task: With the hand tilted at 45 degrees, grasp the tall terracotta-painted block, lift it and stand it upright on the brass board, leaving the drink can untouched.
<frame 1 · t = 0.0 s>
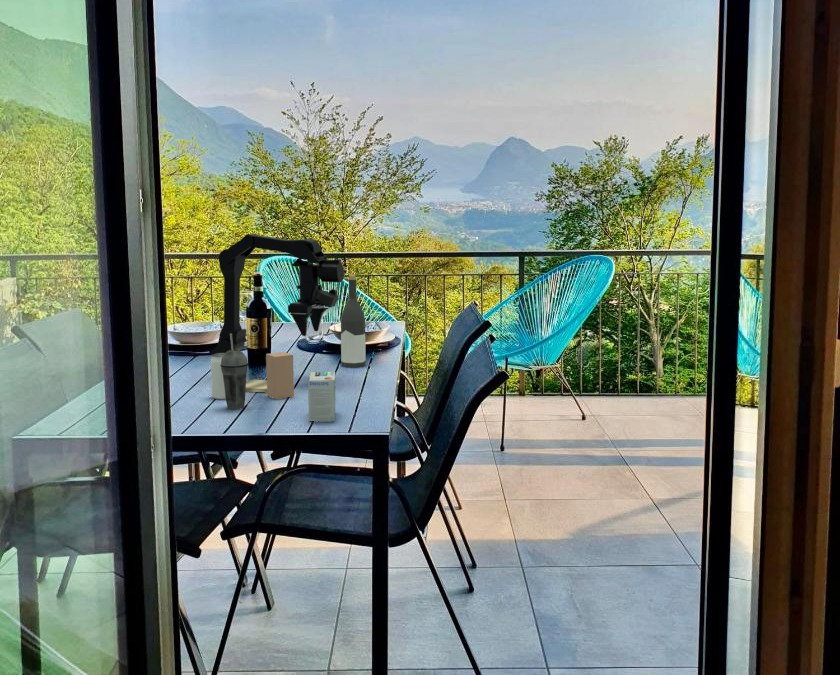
hand: (310, 333, 262), 15 cm above the table, tool pointing down, fingers open, 9 cm apart
can: (223, 397, 244), on the table
wine bottle: (353, 366, 289), on the table
tall block: (280, 396, 245), on the table
brass board: (260, 388, 255), on the table
light bulb box: (322, 417, 222), on the table
beverage cup: (235, 408, 232), on the table
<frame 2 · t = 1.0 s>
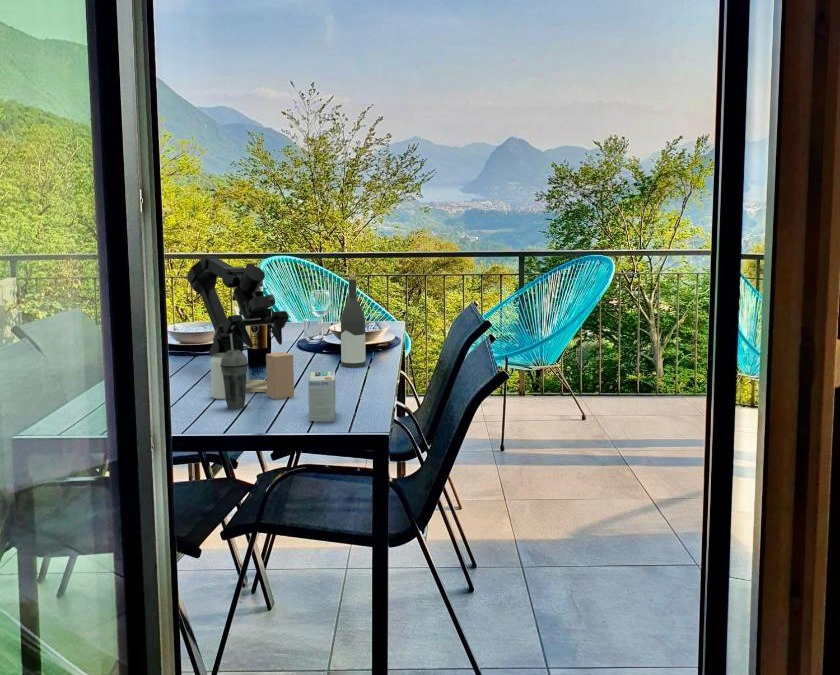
hand: (266, 345, 249), 13 cm above the table, tool tilted 45°, fingers open, 9 cm apart
nothing on the table moved.
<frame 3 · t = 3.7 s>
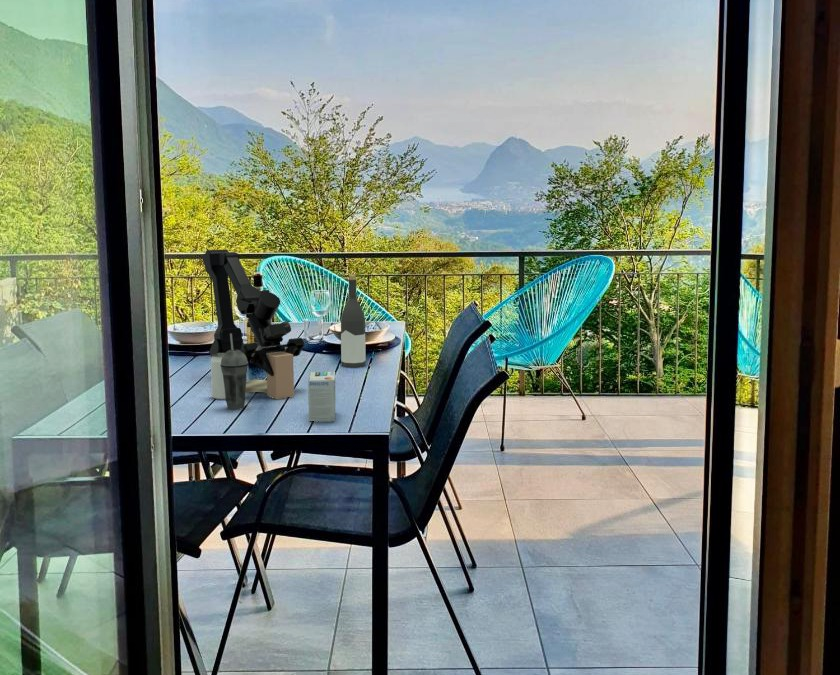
hand: (282, 374, 243), 7 cm above the table, tool tilted 45°, fingers closed on tall block, 5 cm apart
tall block: (280, 396, 245), on the table, touching gripper
everything else where it was.
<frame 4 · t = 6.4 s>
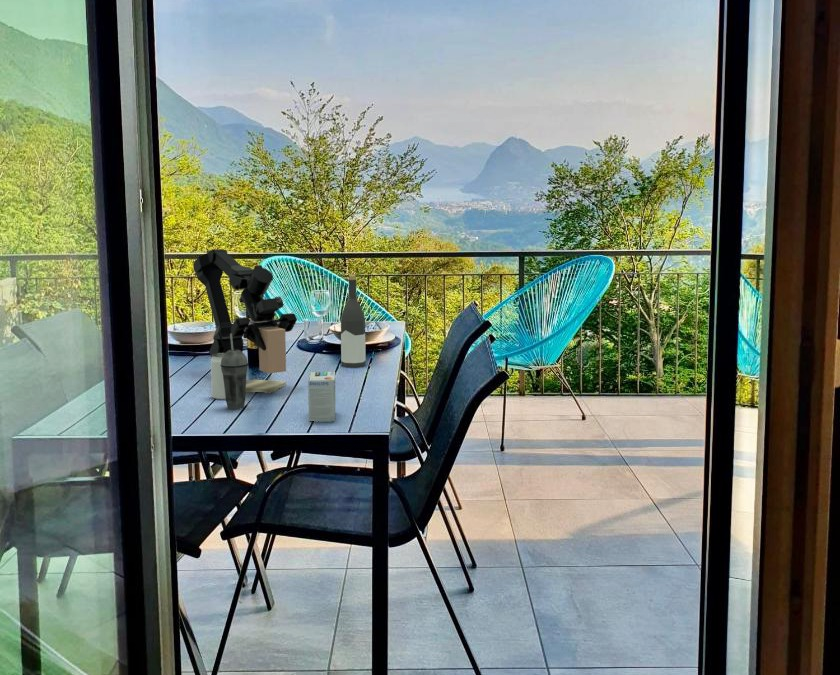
hand: (274, 348, 245), 13 cm above the table, tool tilted 45°, fingers closed on tall block, 5 cm apart
tall block: (272, 370, 248), point 7 cm above the table, touching gripper
everything else where it was.
when the fingers open (9 cm above the table, at t = 9.0 s): tall block drops 2 cm, resting on brass board.
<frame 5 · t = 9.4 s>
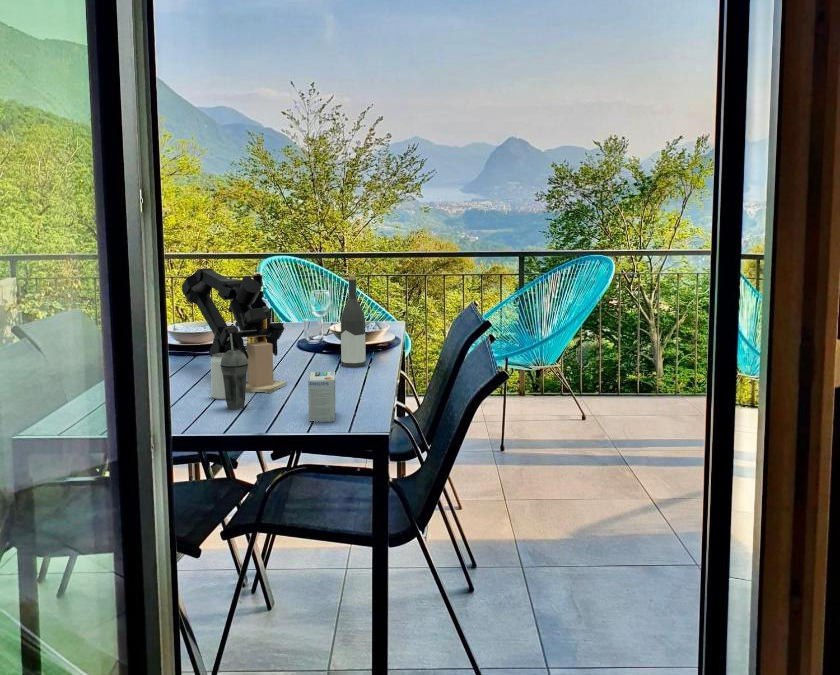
hand: (262, 356, 253), 10 cm above the table, tool tilted 45°, fingers open, 9 cm apart
tall block: (260, 384, 255), point 1 cm above the table, touching brass board
everything else where it was.
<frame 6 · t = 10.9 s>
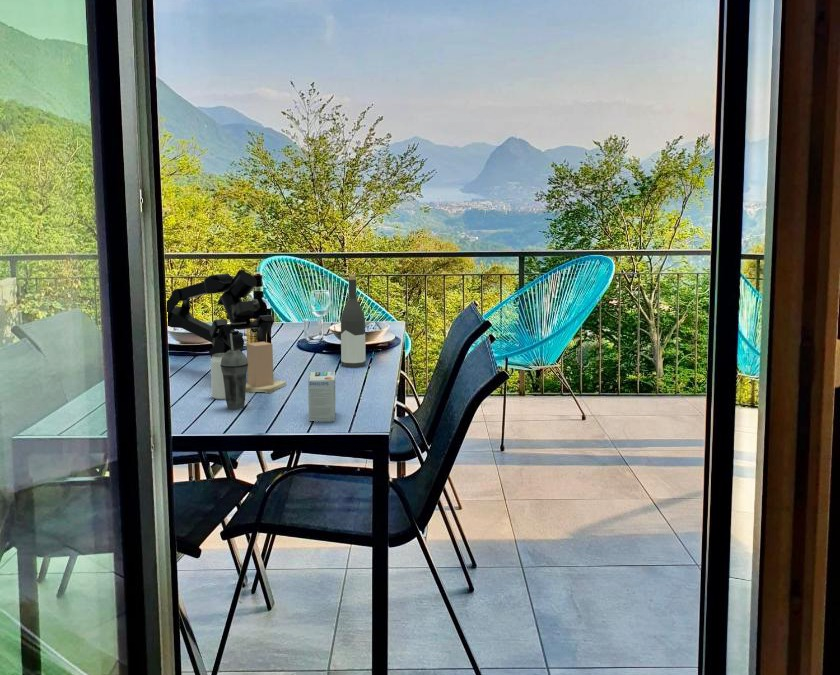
hand: (251, 348, 258), 11 cm above the table, tool tilted 45°, fingers open, 9 cm apart
nothing on the table moved.
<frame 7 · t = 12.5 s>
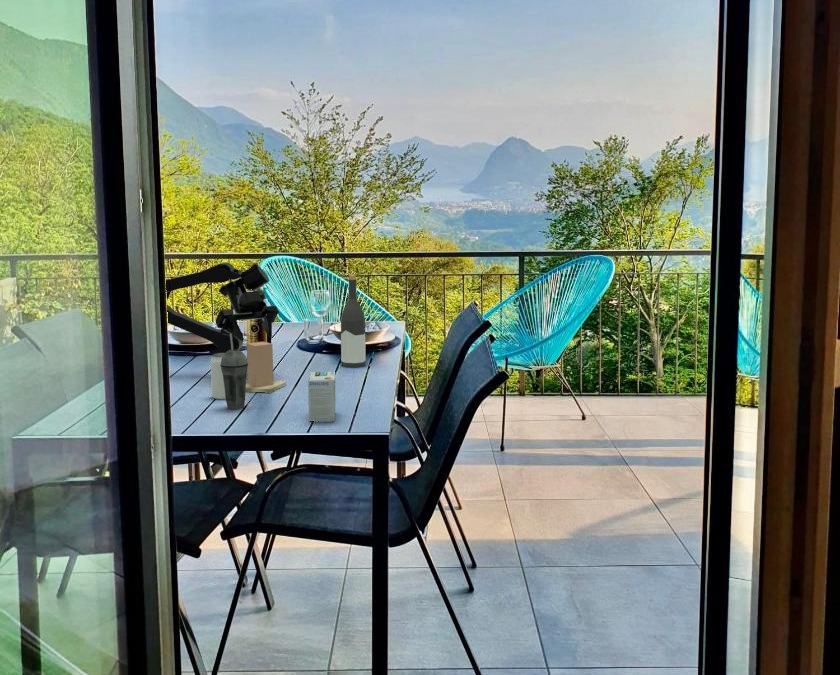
hand: (257, 338, 260), 14 cm above the table, tool tilted 45°, fingers open, 9 cm apart
nothing on the table moved.
at the end: tall block inside the target area on the brass board (0.0 cm from its centre), point 1.2 cm above the brass board's base; tall block tilted 0°; the gripper is holding nothing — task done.
